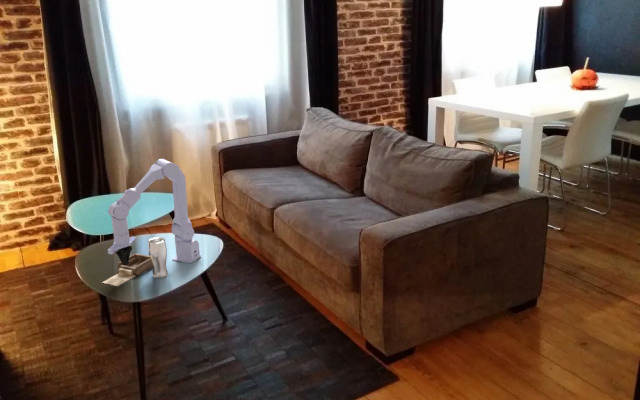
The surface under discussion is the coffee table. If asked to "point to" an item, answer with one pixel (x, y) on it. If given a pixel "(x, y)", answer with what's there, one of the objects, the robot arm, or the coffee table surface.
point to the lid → (120, 277)
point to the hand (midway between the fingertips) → (125, 264)
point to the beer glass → (158, 256)
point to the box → (137, 264)
